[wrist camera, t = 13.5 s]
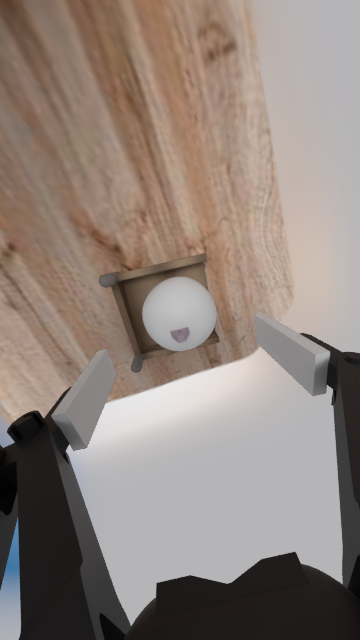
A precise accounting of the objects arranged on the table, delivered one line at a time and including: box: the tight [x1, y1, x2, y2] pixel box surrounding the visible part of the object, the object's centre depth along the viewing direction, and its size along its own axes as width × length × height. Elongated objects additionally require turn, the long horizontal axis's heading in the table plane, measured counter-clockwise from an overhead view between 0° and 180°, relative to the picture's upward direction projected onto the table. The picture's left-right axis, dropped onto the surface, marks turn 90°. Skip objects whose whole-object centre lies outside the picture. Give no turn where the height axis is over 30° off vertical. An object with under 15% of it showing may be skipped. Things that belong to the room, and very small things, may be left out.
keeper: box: [99, 254, 220, 372], centre depth 28 cm, size 15×15×6 cm
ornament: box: [142, 277, 217, 351], centre depth 24 cm, size 10×10×12 cm
